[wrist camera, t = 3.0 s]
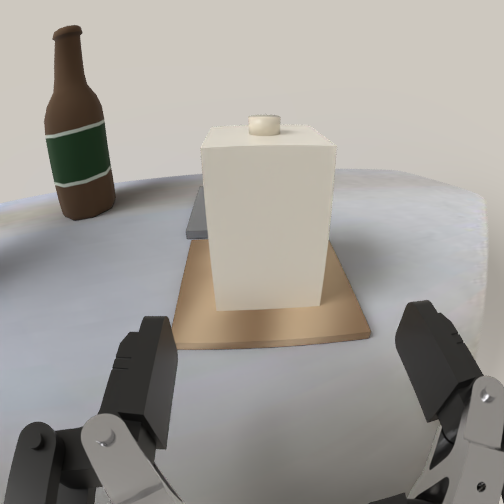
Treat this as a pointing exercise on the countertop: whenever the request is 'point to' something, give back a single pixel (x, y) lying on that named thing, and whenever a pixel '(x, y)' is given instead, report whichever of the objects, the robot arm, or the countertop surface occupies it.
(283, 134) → the knobbed cream block
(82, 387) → the countertop surface
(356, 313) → the cork mat
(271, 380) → the countertop surface
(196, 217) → the slate coaster
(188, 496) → the countertop surface
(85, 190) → the beer bottle
